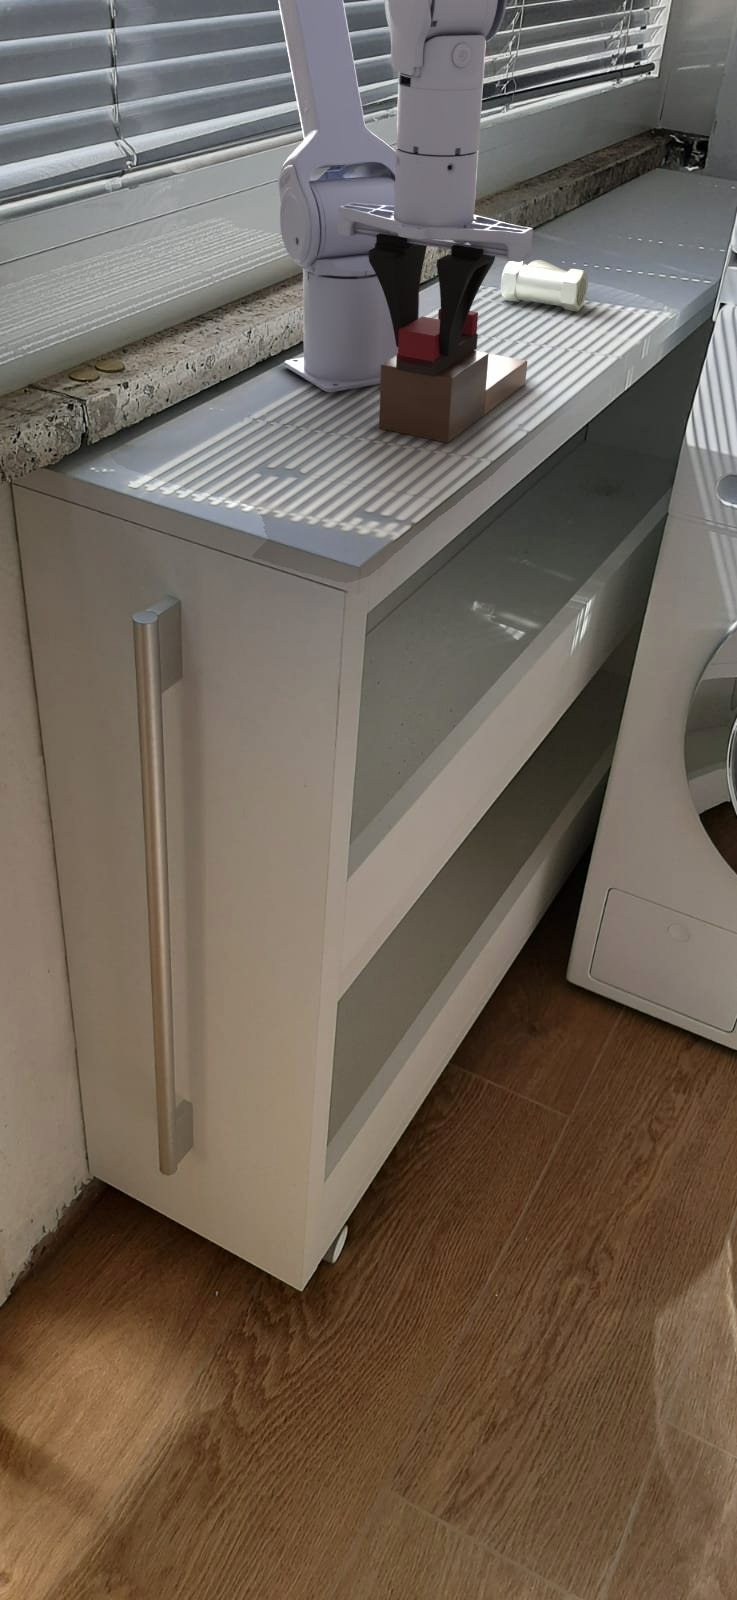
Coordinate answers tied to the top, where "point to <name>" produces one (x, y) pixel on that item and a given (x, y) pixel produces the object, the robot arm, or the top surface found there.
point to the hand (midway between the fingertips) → (427, 348)
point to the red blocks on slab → (432, 345)
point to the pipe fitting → (544, 284)
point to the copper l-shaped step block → (446, 395)
